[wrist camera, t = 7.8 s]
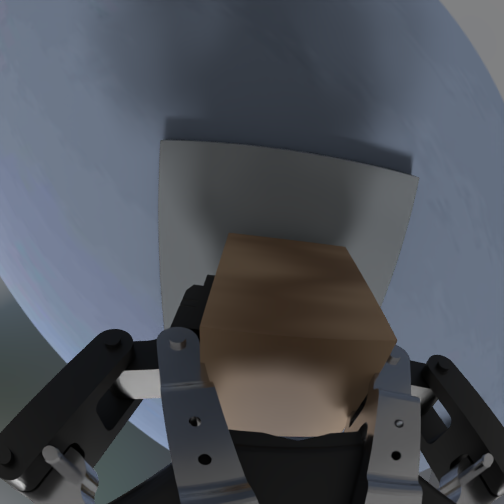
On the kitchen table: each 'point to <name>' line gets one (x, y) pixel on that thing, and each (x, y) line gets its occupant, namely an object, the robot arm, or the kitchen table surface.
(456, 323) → the kitchen table surface
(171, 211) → the coaster
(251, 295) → the block
